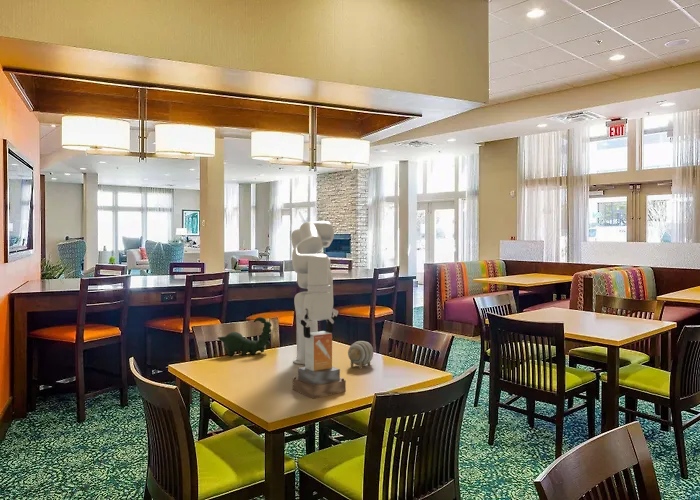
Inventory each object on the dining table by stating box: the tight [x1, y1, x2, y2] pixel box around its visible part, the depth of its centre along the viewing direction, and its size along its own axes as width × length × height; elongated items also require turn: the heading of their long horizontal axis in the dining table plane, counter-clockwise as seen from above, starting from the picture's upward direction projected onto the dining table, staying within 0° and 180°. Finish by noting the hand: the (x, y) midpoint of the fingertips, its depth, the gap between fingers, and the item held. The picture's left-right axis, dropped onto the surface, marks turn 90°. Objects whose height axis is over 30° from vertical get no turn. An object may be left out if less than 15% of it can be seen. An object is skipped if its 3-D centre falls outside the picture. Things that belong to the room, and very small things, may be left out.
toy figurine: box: [217, 316, 272, 356], centre depth 247 cm, size 9×19×25 cm
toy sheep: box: [347, 340, 374, 370], centre depth 223 cm, size 11×17×11 cm, turn 153°
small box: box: [304, 330, 333, 371], centre depth 188 cm, size 8×6×13 cm
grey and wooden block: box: [292, 366, 347, 400], centre depth 188 cm, size 14×14×8 cm
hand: (318, 335), depth 188 cm, fingers open, 9 cm apart
